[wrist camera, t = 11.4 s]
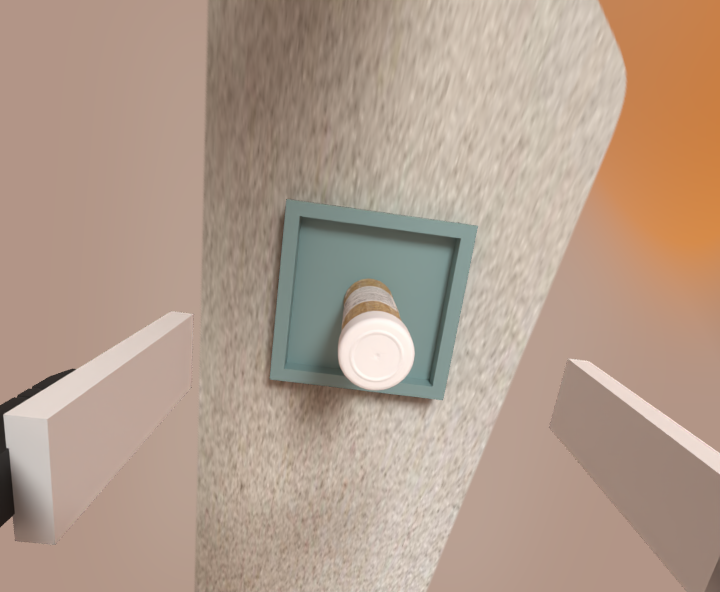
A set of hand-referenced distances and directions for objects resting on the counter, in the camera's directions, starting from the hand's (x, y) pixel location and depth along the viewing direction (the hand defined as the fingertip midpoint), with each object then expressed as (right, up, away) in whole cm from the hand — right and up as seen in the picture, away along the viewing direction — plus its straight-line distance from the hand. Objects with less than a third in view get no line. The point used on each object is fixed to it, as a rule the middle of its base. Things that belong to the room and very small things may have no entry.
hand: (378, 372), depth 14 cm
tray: (0, +2, +23) cm, 23 cm away
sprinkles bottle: (0, +2, +22) cm, 23 cm away
